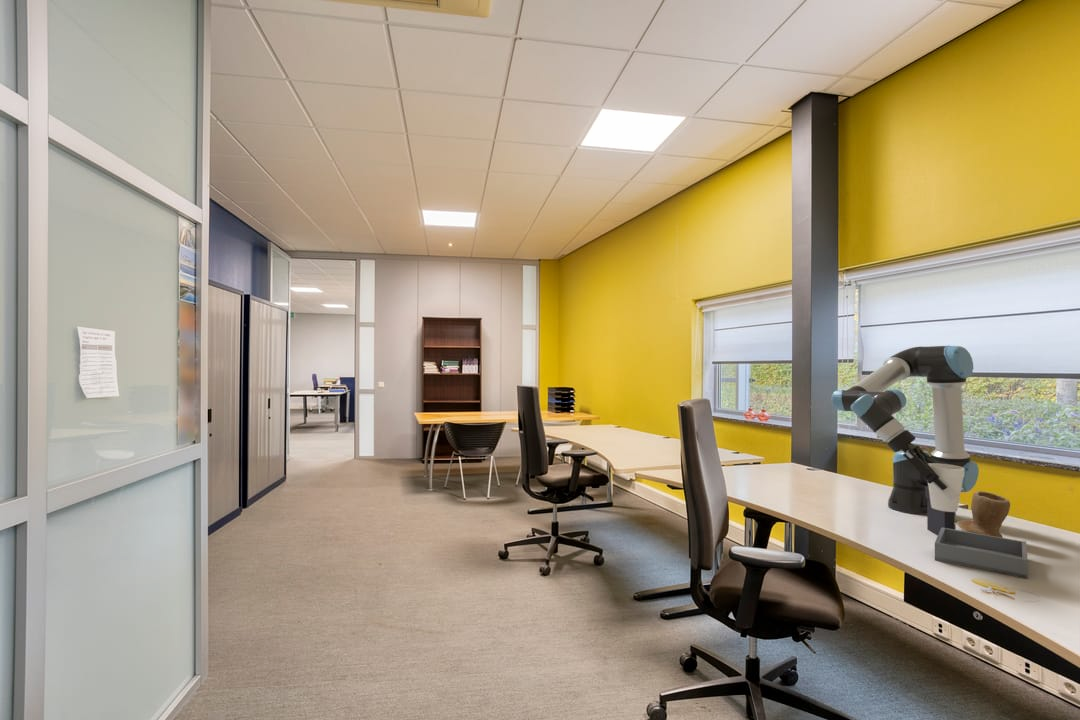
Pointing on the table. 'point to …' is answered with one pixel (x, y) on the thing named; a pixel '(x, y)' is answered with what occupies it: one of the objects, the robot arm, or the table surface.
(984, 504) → the brown flared vessel
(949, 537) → the tray
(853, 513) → the table surface
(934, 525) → the dark blue upright block
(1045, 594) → the table surface
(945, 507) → the foam cup
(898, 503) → the robot arm
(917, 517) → the table surface
